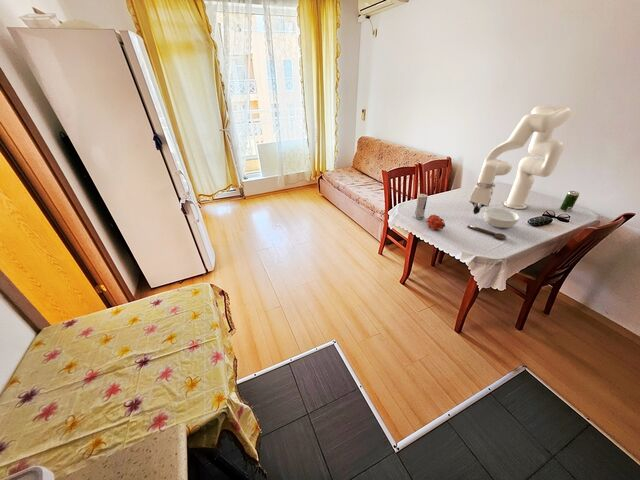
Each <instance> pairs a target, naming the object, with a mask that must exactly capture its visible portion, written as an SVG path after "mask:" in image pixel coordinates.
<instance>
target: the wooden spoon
mask: <svg viewBox="0 0 640 480" xmlns="http://www.w3.org/2000/svg"><path fill="white" fill-rule="evenodd" d="M467 228H469V229H472V230H475V231H478V232H480V233H483V234H484V233H485V234H487V235H490V236H493V237H494V238H495V239H497V240H499V241H505V240H507V239H506V238H507V235H505V234H503V233H500V232H498V233H497V232H495V231H491V230H487V229H485V228H481V227H479V226H475V225H472V224H468V225H467Z"/></svg>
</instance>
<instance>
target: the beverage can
mask: <svg viewBox="0 0 640 480" xmlns="http://www.w3.org/2000/svg"><path fill="white" fill-rule="evenodd" d="M427 201H428V195H427V194H425V193H418V194H417V198H416V203H415V209H414V216H413V217H414V218H415V219H419V220H421V219H423V218H425V212H426V206H427Z"/></svg>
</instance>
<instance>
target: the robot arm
mask: <svg viewBox="0 0 640 480" xmlns="http://www.w3.org/2000/svg"><path fill="white" fill-rule="evenodd" d="M571 114H572V109H571V108H570V107H569V106H564V105H537V106H535V107H534V108H533V109H532V110H531V113H529V114H526V115H524V116H523V117H522V118H521V120H520V122H519V123H518V124H517V126H516V127H515V128H514V130H513V132H512V133H511V134H510V136H509V138H508V139H507V140H506V141H504V142H502V143H500V144H499V145H497V146H496V147H495V148H493V149H492V150H490V152H489V153H488V154H487V156H486V158H485V159H484V161H483V163H482V167H481V170H480V173H479V176H478V180H477V183H476V184H475V185H474V187H473V190H472V192H471V195H470V197H469V201H468V202H469V203H470V204H472V205H473V211H472V212H473V214H474V215H478V214H479V213H480V212H481V208H484V207H485V208H489V206H490V203H491V201H492V197H493V193H494V188H495V187H496V184H494V181H495V178H496V176H501V177H502V176H506V175H508V174H510V172H511V171H512V168H513V166H512V163H511V162H508V161H504V160H501V159H497V158H498V157H500V156H501V155H502V154H503V153H506V152H509V151H513V150H517V149H521V148H523V147H525V145H526V144H527V142H528V141H529V140H530V138H531V140H530V143H529V145H528V149H527V152H528V154H529V155H533V156H525V157H523V158H522V159H521V160H520V161H519V163H518V166H517V172H516V176H515V178H514V182H513V184H512V187H511V190H510V192H509V194H508V198H507V200H504V201H503V205H504V206H505V207H507V208H510V209H515V210H523V209H526V208H527V206H528V204H526V201H527V199H528V197H529V195H530V192H531V189H532V187H533V185H534V182H535V177H534V176H537V177H541V178H547V177H550V176H551V175H552V174H553V172H554V171H555V170H556V167H557V166H558V165H557V164H558V162H559V160H560V159H561V156H562V153H563V152H564V148H565V144H564V142H563V141H561V140H558V139H552V138H553V134H554V131H555V129H556V128H557V127H560V126H561V125H563V124H564V123H566V122H567V121H568V120H569V118H571ZM531 136H532V137H531ZM535 156H537V157H535Z"/></svg>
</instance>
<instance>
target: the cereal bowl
mask: <svg viewBox="0 0 640 480" xmlns="http://www.w3.org/2000/svg"><path fill="white" fill-rule="evenodd" d="M519 219H520V216H519V215H518V214H517V213H516V212H514V211H513V210H510V209H506V208H502V207H487V208H486V209H484V211H483V220H484V222H486V223H487V224H488V225H491V226H492V227H494V228H500V229H502V228H511V227H513V226H515V225H516V224H517V223H518V222H519Z"/></svg>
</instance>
